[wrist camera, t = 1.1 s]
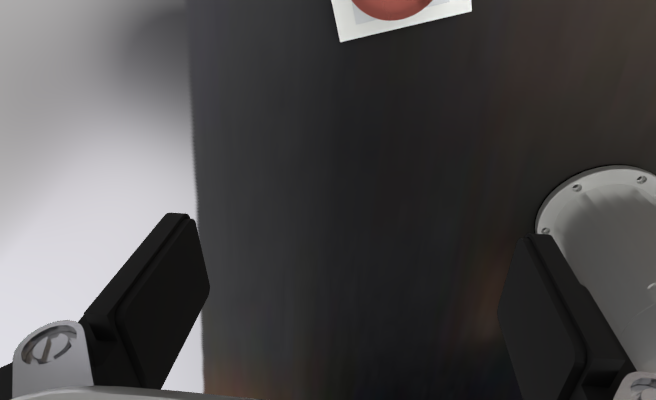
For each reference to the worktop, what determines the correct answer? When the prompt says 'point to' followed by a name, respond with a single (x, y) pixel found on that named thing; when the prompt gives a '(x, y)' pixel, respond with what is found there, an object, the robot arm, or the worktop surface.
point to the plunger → (391, 8)
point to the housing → (360, 24)
